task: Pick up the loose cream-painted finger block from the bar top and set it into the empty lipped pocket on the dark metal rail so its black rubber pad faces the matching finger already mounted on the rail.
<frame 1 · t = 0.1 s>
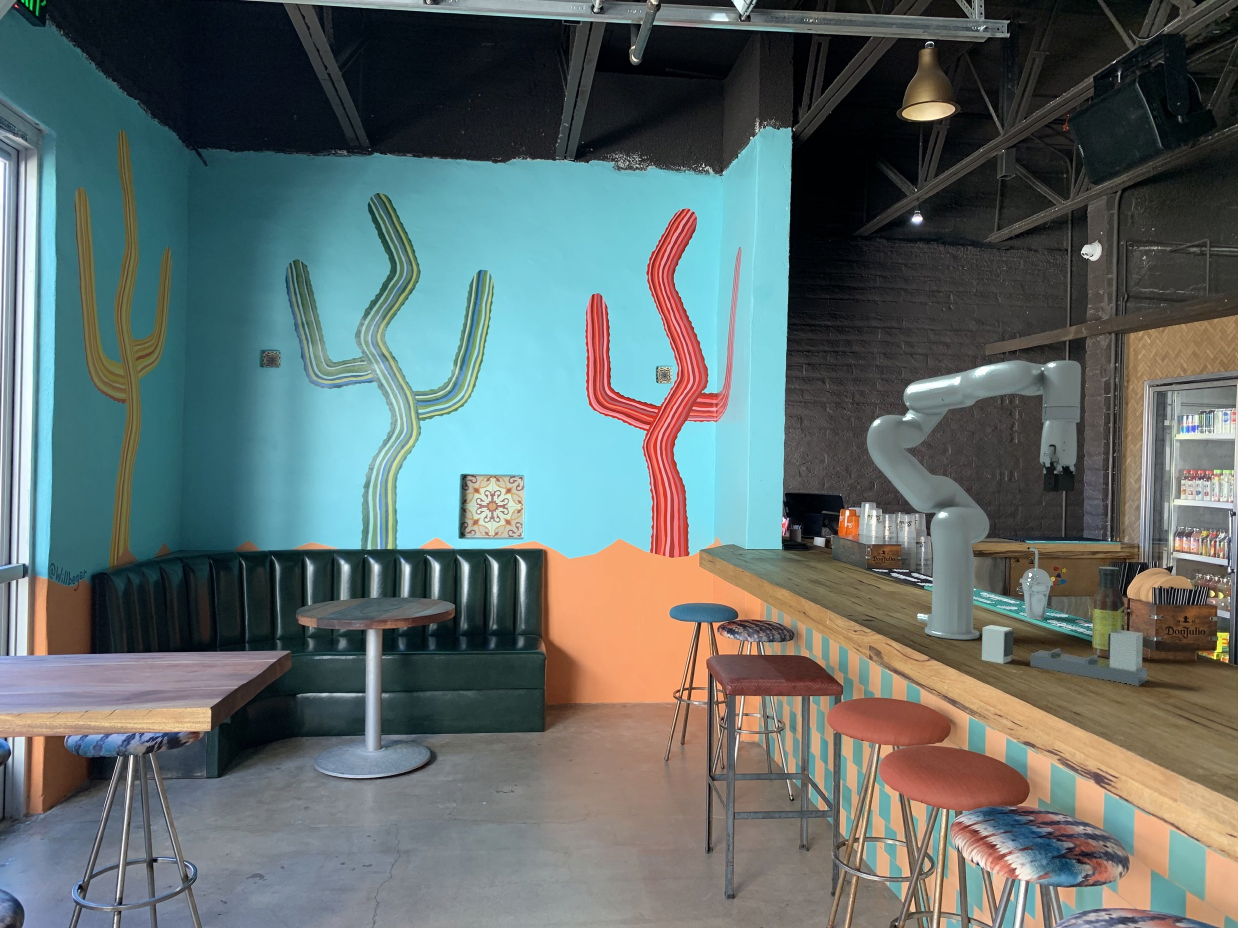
hand: (1059, 491, 190), 37 cm above the bar counter, tool pointing down, fingers open, 9 cm apart
cup with straw: (1034, 618, 232), on the bar counter
rail: (1086, 673, 172), on the bar counter
sauce bottle: (1107, 656, 188), on the bar counter
finger block: (996, 659, 182), on the bar counter
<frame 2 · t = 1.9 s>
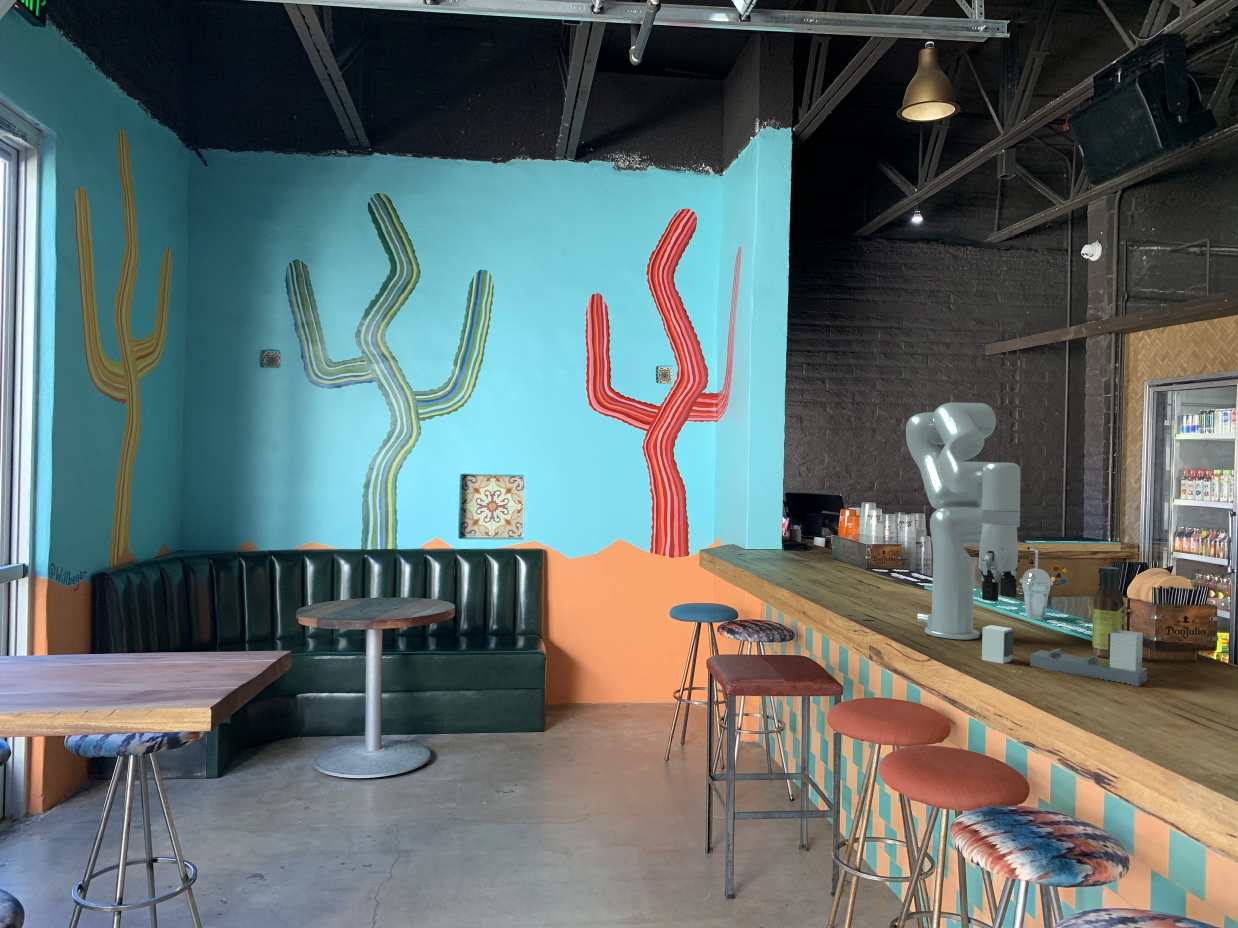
hand: (999, 598, 181), 13 cm above the bar counter, tool pointing down, fingers open, 9 cm apart
nothing on the bar counter moved.
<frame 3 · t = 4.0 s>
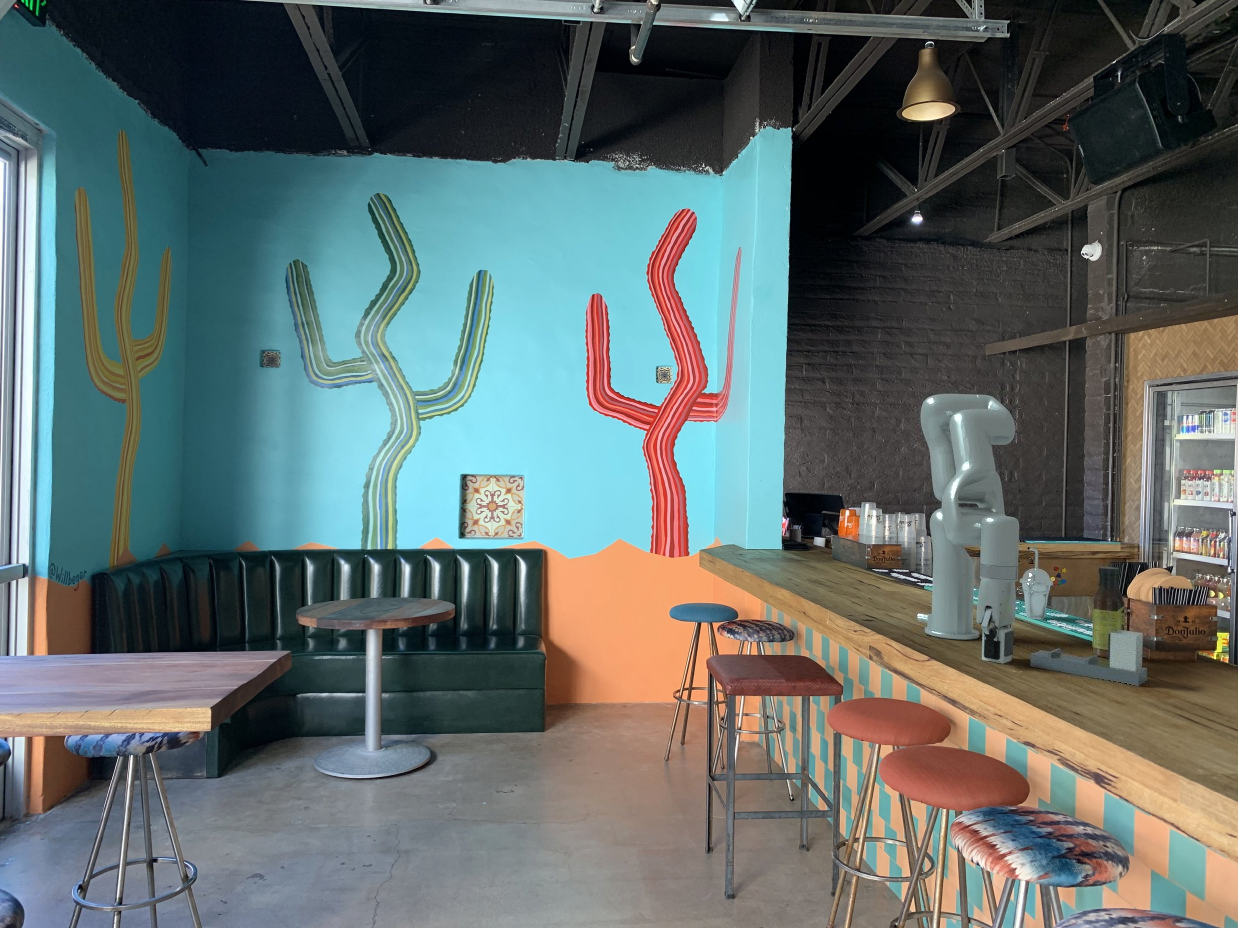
hand: (996, 655, 182), 1 cm above the bar counter, tool pointing down, fingers closed on finger block, 4 cm apart
finger block: (996, 659, 182), on the bar counter, touching gripper
everything else where it was.
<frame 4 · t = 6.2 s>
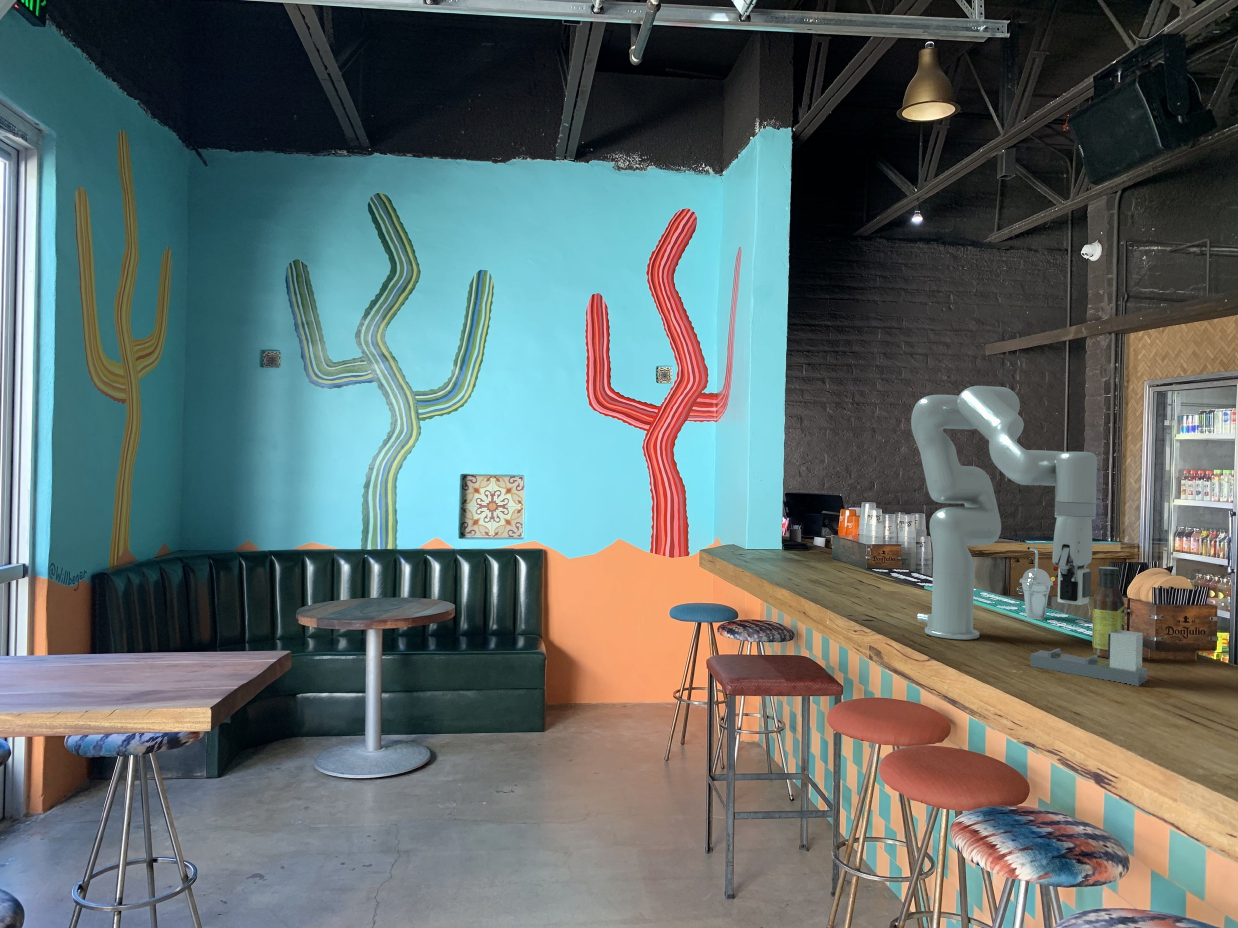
hand: (1072, 597, 174), 15 cm above the bar counter, tool pointing down, fingers closed on finger block, 4 cm apart
finger block: (1073, 602, 174), point 14 cm above the bar counter, touching gripper
everything else where it was.
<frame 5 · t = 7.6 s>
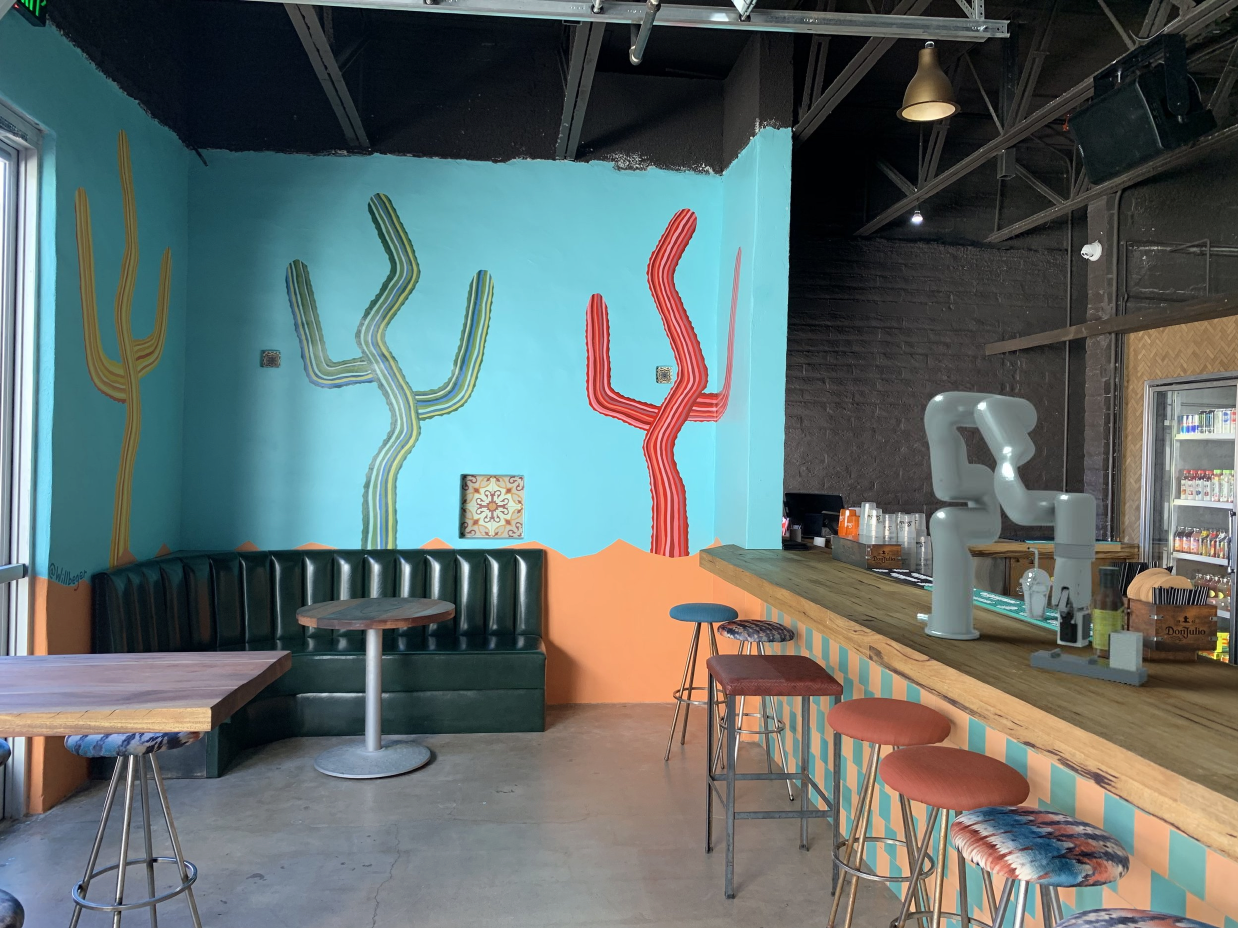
hand: (1072, 639, 174), 6 cm above the bar counter, tool pointing down, fingers closed on finger block, 4 cm apart
finger block: (1072, 643, 174), point 6 cm above the bar counter, touching gripper
everything else where it was.
when the fingers open (5 cm above the bar counter, at t = 8.7 s): finger block drops 1 cm, resting on rail.
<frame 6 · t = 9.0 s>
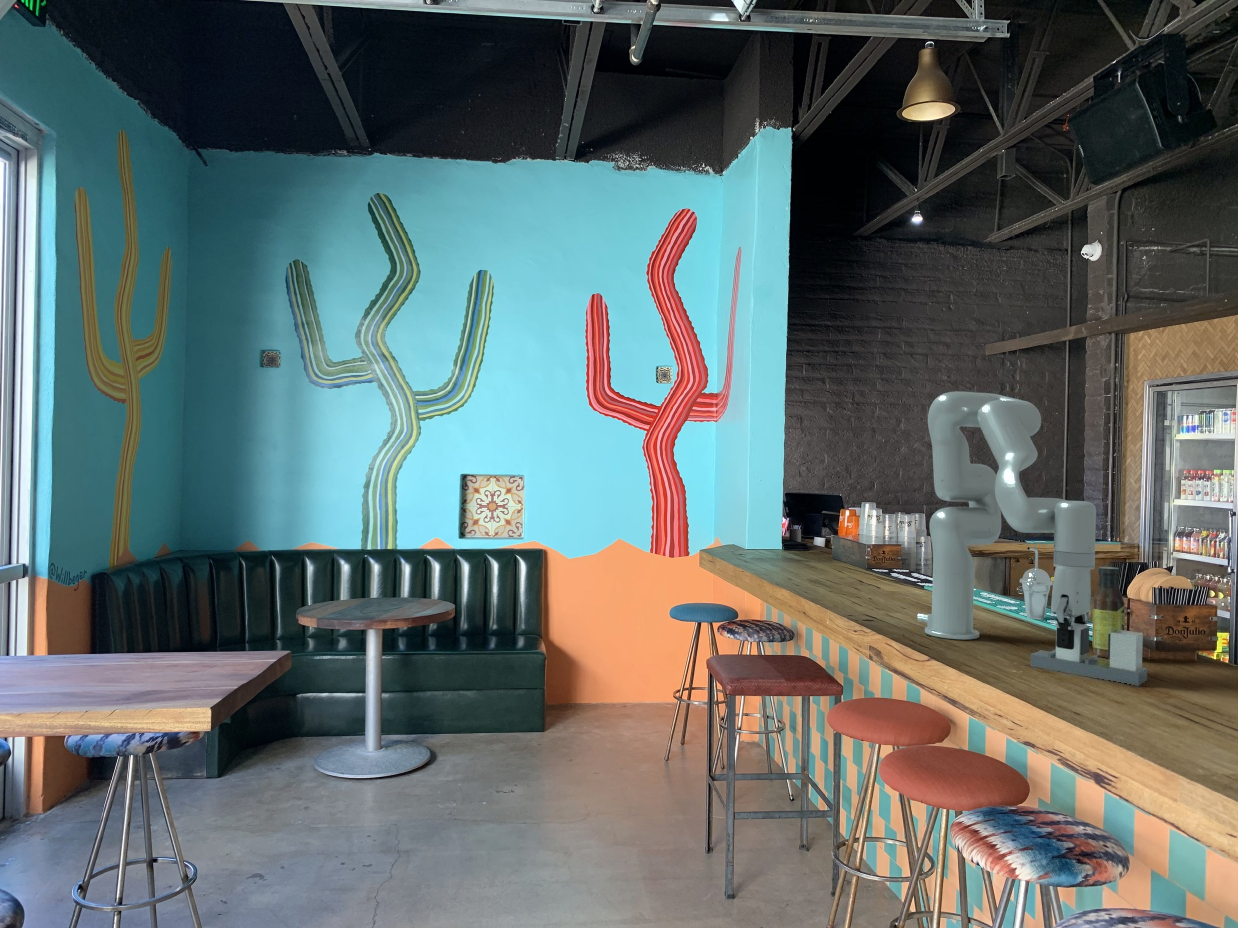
hand: (1071, 644, 174), 5 cm above the bar counter, tool pointing down, fingers open, 7 cm apart
finger block: (1071, 658, 174), point 2 cm above the bar counter, touching rail
everything else where it was.
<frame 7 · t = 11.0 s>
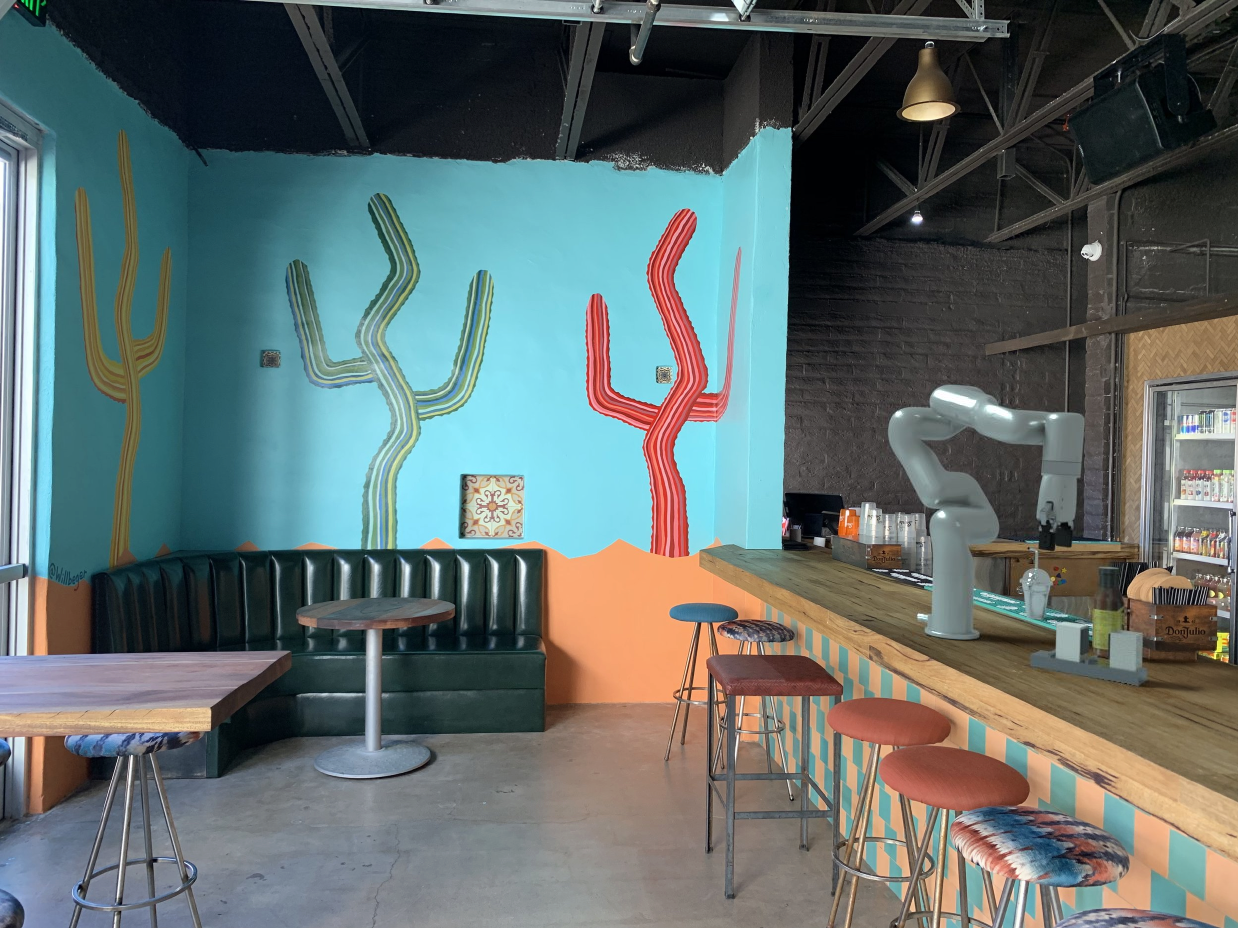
hand: (1055, 548, 182), 25 cm above the bar counter, tool pointing down, fingers open, 9 cm apart
nothing on the bar counter moved.
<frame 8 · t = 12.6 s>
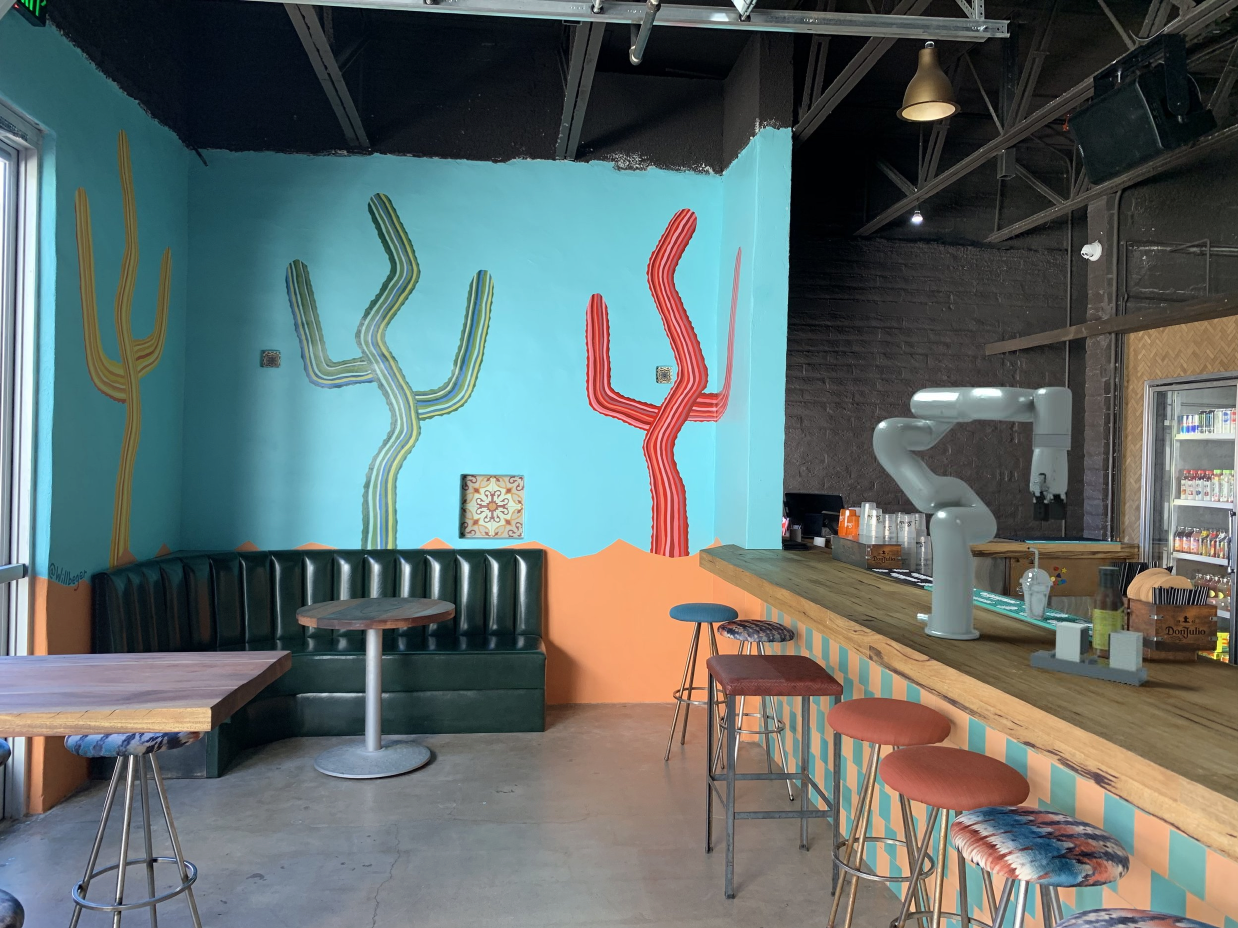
hand: (1049, 520, 186), 30 cm above the bar counter, tool pointing down, fingers open, 9 cm apart
nothing on the bar counter moved.
at the end: finger block 0.1 cm from the target spot on the rail, point 2.5 cm above the rail's base; finger block tilted 0°; the gripper is holding nothing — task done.
